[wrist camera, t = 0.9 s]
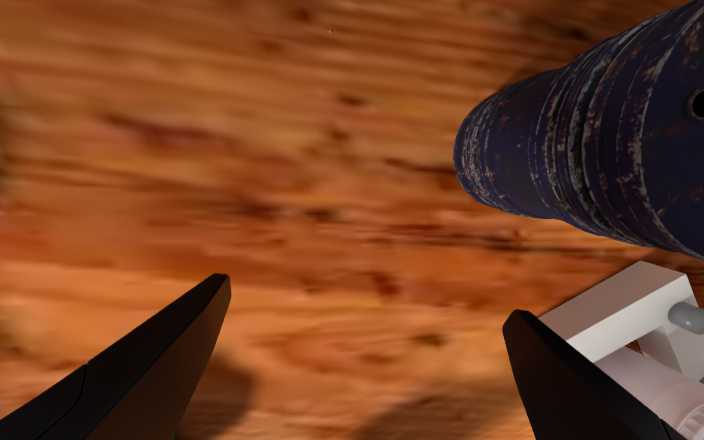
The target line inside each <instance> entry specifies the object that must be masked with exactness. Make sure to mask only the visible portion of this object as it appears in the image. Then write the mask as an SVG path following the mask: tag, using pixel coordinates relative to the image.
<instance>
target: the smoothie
mask: <svg viewBox="0 0 704 440" xmlns="http://www.w3.org/2000/svg"><path fill="white" fill-rule="evenodd" d="M594 364H595V365H596V366H597V367H599V368H600V369H601V370H602V371H604V372H605V373H606V374H607V375H608V376H610V377H611V378H612V379H613V380H615V381H616V382H617V383H618V384H620V385H621V386H622V387H623V388H624V389H626V390H627V391H628V392H629V393H631V394H632V395H633V396H634V397H636V398H637V399H638V400H639V401H641V402H642V403H643V404H644V405H645V406H647V407H648V408H649V409H650V410H652V411H653V412H654V413H655V414H657V415H658V417H659V418H661V419H663V420H664V421H665V422H667V423H668V424H669V425H670V426H671V427H673V428H674V429H675V430H676V431H678V432H679V433H680V434H681V435H683V436H684V437H685V438H686V439H688V440H704V384H702V383H700V382H698V381H696V380H694V379H692V378H690V377H688V376H686V375H684V374H682V373H680V372H677V371H675V370H673V369H671V368H669V367H667V366H665V365H663V364H661V363H659V362H657V361H655V360H653V359H651V358H648V357H646V356H644V355H642V354H640V353H638V352H636V351H634V350H632V349H630V348H628V347H626V346H623V347H621V348H619V349H617V350H616V351H614V352H612V353H610V354H608V355H606V356H605V357H603V358H601V359H599V360H597V361H596V362H594Z"/></svg>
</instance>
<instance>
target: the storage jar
mask: <svg viewBox="0 0 704 440" xmlns="http://www.w3.org/2000/svg"><path fill="white" fill-rule="evenodd" d="M453 160H454V168H455V171H456V175H457V177H458V179H459V182H460V184H461V185H462V187H463V188H464V190H465V191H466V192H467V193H468V194H469V195H470V196H471V197H472V198H474V199H475V200H476V201H478V202H480V203H482V204H484V205H487V206H490V207H493V208H498V209H499V210H502V211H505V212H508V213H511V214H515V215H520V216H527V217H533V218H540V219H557V220H562V221H565V222H566V223H568V224H570V225H572V226H574V227H577V228H579V229H580V230H582V231H585V232H588V233H591V234H594V235H598V236H605V237H609V238H612V239H615V240H618V241H622V242H626V243H630V244H634V245H638V246H643V247H650V248H659V249H663V250H667V251H671V252H679V253H682V254H685V255H688V256H691V257H695V258H699V259H703V260H704V0H694V1H692V2H690V3H687V4H685V5H683V6H680V7H677V8H674V9H671V10H668V11H665V12H663V13H660V14H658V15H656V16H654V17H652V18H650V19H648V20H646V21H644V22H642V23H640V24H637V25H635V26H633V27H631V28H630V29H628V30H626V31H624V32H622V33H620V34H618V35H615V36H613V37H610V38H608V39H606V40H604V41H602V42H600V43H598V44H596V45H594V46H593V47H591V48H590V49H589V50H587V51H586V52H585V53H583V54H581V55H580V56H579V57H577V58H576V59H575V60H573V61H572V62H571V63H569V64H568V65H566V66H564V67H562V68H560V69H555V70H549V71H545V72H542V73H540V74H537V75H534V76H532V77H529V78H527V79H524V80H521V81H519V82H517V83H515V84H513V85H510V86H509V87H507V88H505V89H503V90H501V91H500V92H498V93H497V94H495V95H493V96H491V97H489V98H487V99H485V100H484V101H482V102H481V103H480V104H478V105H477V106H476V107H475V108H474V109H473V110H472V111H471V112H470V113H469V114H468V115H467V117H466V118H465V119H464V121H463V123H462V124H461V126H460V128H459V130H458V133H457V136H456V139H455V144H454V151H453Z"/></svg>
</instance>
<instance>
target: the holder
mask: <svg viewBox="0 0 704 440" xmlns="http://www.w3.org/2000/svg"><path fill="white" fill-rule="evenodd" d="M538 319H539V320H541V321H542V322H543V323H544V324H545V325H547V326H548V327H549V328H550V329H552V330H553V331H554V332H555V333H557V334H558V335H559V336H560V337H562V338H563V339H564V340H565V341H566V342H568V343H569V344H570V345H571V346H573V347H574V348H575V349H576V350H578V351H579V352H580V353H581V354H583V355H584V356H585V357H586V358H587V359H589V360H590V361H591V362H592V363H594V362H596V361H597V360H599V359H601V358H603V357H605V356H606V355H608V354H610V353H612V352H614V351H616V350H617V349H619V348H621V347H623V346H625V345H627V344H628V343H630V342H632V341H634V340H636V339H637V341H638V344H639V346H640V348H641V350H642V353H643V355H644V356H646V357H648V358H651V359H653V360H655V361H657V362H659V363H661V364H663V365H665V366H667V367H669V368H671V369H673V370H675V371H677V372H680V373H682V374H684V375H686V376H688V377H690V378H692V379H694V380H696V381H698V382H700V383H702V384H704V309H701V308H699V307H698V304H697V302H696V299H695V296H694V294H693V291H692V289H691V286H690V283H689V281H688V278H687V276H686V274H684V273H681V272H677V271H674V270H671V269H667V268H664V267H661V266H657V265H654V264H651V263H647V262H644V261H641V260H640V261H638V262H637V263H635V264H633V265H631V266H629V267H628V268H626V269H624V270H622V271H621V272H619V273H617V274H615V275H613V276H612V277H610V278H608V279H606V280H605V281H603V282H601V283H599V284H597V285H596V286H594V287H592V288H590V289H589V290H587V291H585V292H583V293H581V294H580V295H578V296H576V297H574V298H573V299H571V300H569V301H567V302H565V303H564V304H562V305H560V306H558V307H557V308H555V309H553V310H551V311H549V312H548V313H546V314H544V315H542V316H541V317H539V318H538Z"/></svg>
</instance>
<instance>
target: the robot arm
mask: <svg viewBox="0 0 704 440" xmlns="http://www.w3.org/2000/svg"><path fill="white" fill-rule="evenodd" d="M230 300H231V285H230V277H229V275H227V274H220V273H214V274H212V275H211V276H209V277H208V278H206V279H205V280H204V281H202V282H201V283H199V284H198V285H196V286H195V287H194V288H192V289H191V290H189V291H188V292H186V293H185V294H184V295H182V296H181V297H179V298H178V299H176V300H175V301H174V302H172V303H171V304H169V305H168V306H166V307H165V308H164V309H162V310H161V311H159V312H158V313H156V314H155V315H154V316H152V317H151V318H149V319H148V320H146V321H145V322H144V323H142V324H141V325H139V326H138V327H136V328H135V329H134V330H132V331H131V332H129V333H128V334H126V335H125V336H124V337H122V338H121V339H119V340H118V341H117V342H115V343H114V344H112V345H111V346H109V347H108V348H107V349H105V350H104V351H102V352H101V353H99V354H98V355H97V356H95V357H94V358H92V359H91V360H89V361H88V363H87V364H84V365H82V366H81V367H79V368H78V369H76V370H75V371H73V372H72V373H71V374H69V375H68V376H66V377H65V378H63V379H62V380H60V381H59V382H58V383H56V384H55V385H53V386H52V387H50V388H49V389H47V390H46V391H44V392H43V393H41V394H40V395H38V396H37V397H35V398H34V399H32V400H31V401H29V402H27V403H26V404H24V405H23V406H21V407H20V408H18V409H16V410H15V411H13V412H12V413H10V414H9V415H7V416H5V417H4V418H2V419H1V420H0V440H172V438H173V436H174V433H175V431H176V429H177V427H178V425H179V423H180V421H181V418H182V416H183V414H184V412H185V410H186V408H187V406H188V404H189V401H190V399H191V397H192V395H193V393H194V391H195V389H196V386H197V384H198V382H199V380H200V378H201V376H202V374H203V372H204V369H205V367H206V365H207V363H208V361H209V359H210V356H211V354H212V352H213V350H214V347H215V344H216V341H217V338H218V335H219V333H220V330H221V327H222V324H223V321H224V318H225V315H226V312H227V309H228V306H229V303H230ZM502 330H503V336H504V340H505V344H506V348H507V352H508V356H509V360H510V363H511V367H512V371H513V375H514V378H515V382H516V385H517V388H518V391H519V393H520V396H521V399H522V402H523V405H524V407H525V410H526V413H527V416H528V419H529V421H530V424H531V427H532V430H533V433H534V435H535V438H536V440H688V439H686V438H685V437H684V436H683V435H681V434H680V433H679V432H678V431H676V430H675V429H674V428H673V427H671V426H670V425H669V424H668V423H667V422H665V421H664V420H663V419H661V418H659V417H658V415H657V414H655V413H654V412H653V411H652V410H650V409H649V408H648V407H647V406H645V405H644V404H643V403H642V402H641V401H639V400H638V399H637V398H636V397H634V396H633V395H632V394H631V393H629V392H628V391H627V390H626V389H624V388H623V387H622V386H621V385H620V384H618V383H617V382H616V381H615V380H613V379H612V378H611V377H610V376H608V375H607V374H606V373H605V372H604V371H602V370H601V369H600V368H599V367H597V366H596V365H595V364H594V363H592V362H591V361H590V360H589V359H587V358H586V357H585V356H584V355H583V354H581V353H580V352H579V351H578V350H576V349H575V348H574V347H573V346H571V345H570V344H569V343H568V342H566V341H565V340H564V339H563V338H562V337H560V336H559V335H558V334H557V333H555V332H554V331H553V330H552V329H550V328H549V327H548V326H547V325H545V324H544V323H543V322H542V321H541V320H539V319H538V318H537V317H536V316H534V315H533V314H532V313H531V312H529V311H526V310H518V309H516V310H514V311H513V312H512V313H511V314H510V316H509V317H508V319H507V320H506V322H505V323H504V325H503V329H502Z"/></svg>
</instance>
